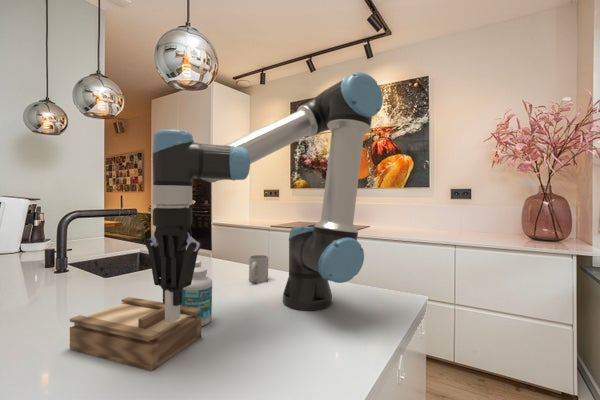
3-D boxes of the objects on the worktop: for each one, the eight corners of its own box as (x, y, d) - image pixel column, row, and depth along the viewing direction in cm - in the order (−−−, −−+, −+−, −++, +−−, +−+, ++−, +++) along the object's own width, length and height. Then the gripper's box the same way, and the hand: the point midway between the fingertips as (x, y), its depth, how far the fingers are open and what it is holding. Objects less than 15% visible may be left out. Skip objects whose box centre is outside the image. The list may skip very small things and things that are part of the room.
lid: (192, 316, 67) (192, 304, 67) (148, 341, 55) (148, 327, 55) (125, 304, 74) (125, 293, 74) (74, 325, 62) (74, 311, 62)
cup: (270, 278, 115) (271, 255, 114) (261, 286, 105) (261, 261, 105) (253, 277, 116) (253, 254, 116) (242, 284, 107) (242, 260, 106)
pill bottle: (182, 331, 70) (182, 274, 70) (179, 319, 77) (179, 267, 76) (214, 325, 73) (214, 271, 73) (209, 314, 80) (209, 264, 80)
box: (201, 336, 67) (201, 308, 67) (152, 371, 54) (152, 336, 54) (128, 322, 75) (128, 296, 74) (69, 349, 61) (69, 318, 61)
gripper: (210, 206, 62) (210, 317, 63) (162, 205, 66) (161, 309, 67) (186, 208, 55) (185, 333, 55) (133, 206, 59) (133, 322, 60)
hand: (172, 319), depth 61 cm, fingers closed
